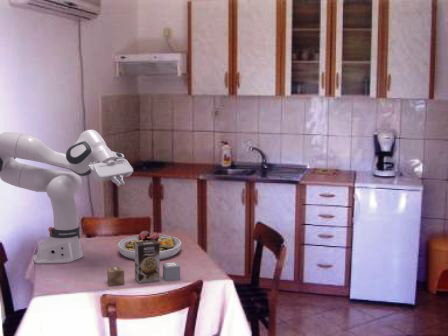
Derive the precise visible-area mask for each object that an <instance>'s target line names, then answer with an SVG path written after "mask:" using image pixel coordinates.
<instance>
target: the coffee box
mask: <svg viewBox="0 0 448 336" xmlns="http://www.w3.org/2000/svg"><path fill="white" fill-rule="evenodd" d="M160 261H161V260H160V244H159V243H158V242H157V241H156V240H150V241H140V242H135V260H134V279H135V281H137V283H138V284H144V283H152V282H158V281H159V282H160V278H161V276H160V273H161V272H160V267H161V266H160V263H161V262H160Z"/></svg>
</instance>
